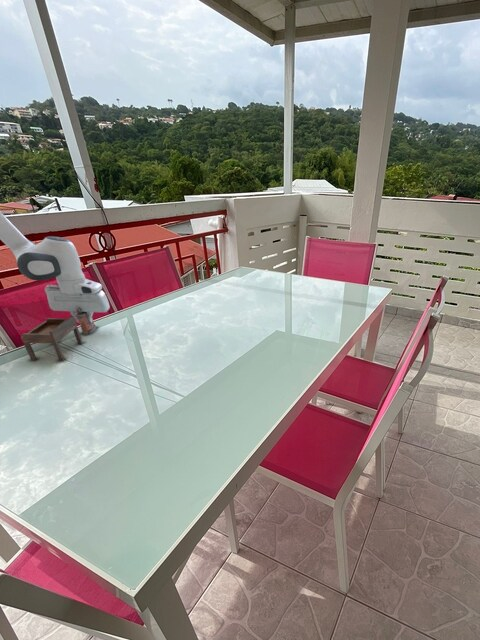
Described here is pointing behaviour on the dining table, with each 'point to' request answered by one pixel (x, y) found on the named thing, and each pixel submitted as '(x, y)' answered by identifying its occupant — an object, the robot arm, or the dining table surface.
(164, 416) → the dining table surface
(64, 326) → the stand
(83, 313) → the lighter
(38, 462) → the dining table surface
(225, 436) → the dining table surface
